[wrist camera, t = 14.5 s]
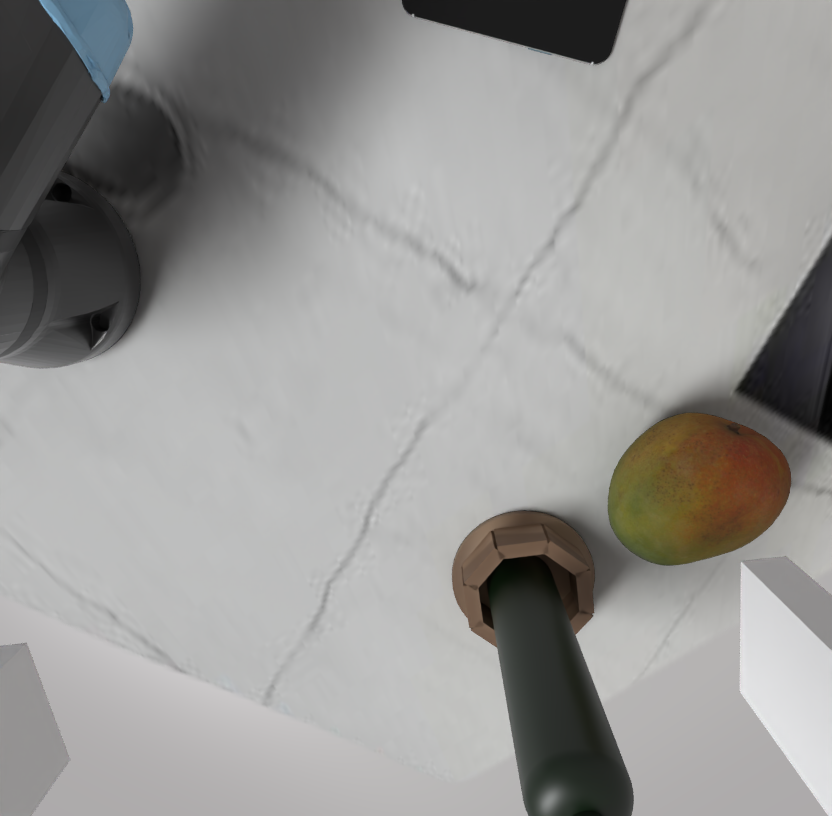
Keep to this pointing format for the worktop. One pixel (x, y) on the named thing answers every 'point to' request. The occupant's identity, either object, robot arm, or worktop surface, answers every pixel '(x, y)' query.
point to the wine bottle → (553, 700)
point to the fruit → (696, 489)
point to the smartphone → (532, 23)
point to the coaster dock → (521, 539)
